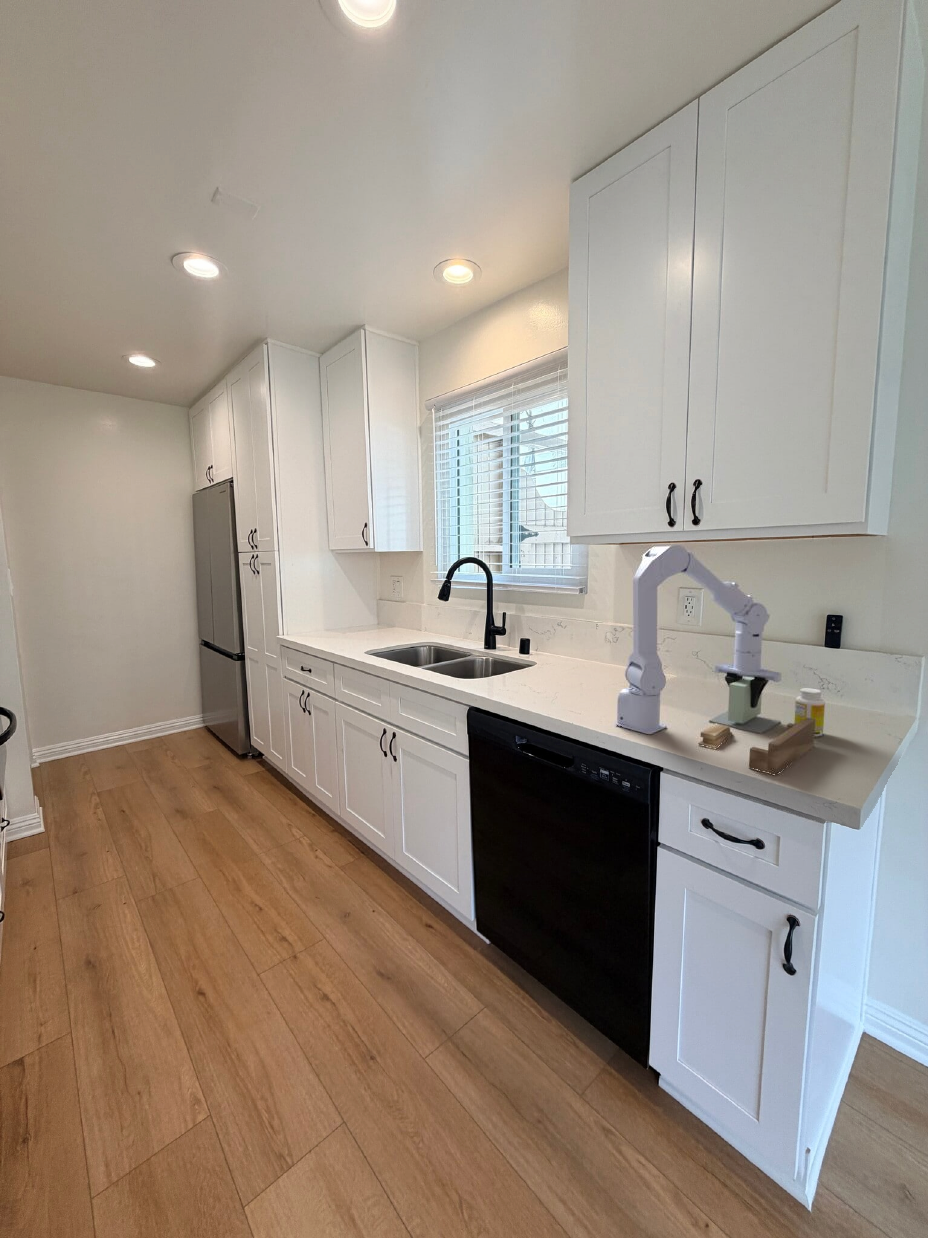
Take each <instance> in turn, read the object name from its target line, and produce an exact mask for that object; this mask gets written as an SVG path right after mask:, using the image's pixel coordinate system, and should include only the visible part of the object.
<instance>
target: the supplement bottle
mask: <svg viewBox="0 0 928 1238" xmlns="http://www.w3.org/2000/svg"><path fill="white" fill-rule="evenodd" d="M799 691H800V692H799V696H797V697H796V698H795V705H794V722H793V724H798V723H799V722H801V721H802V720H804V719H805V718H812V719H815V734H814V738H816V737H817V738H818V737H821V736H823V734H824V726H825V725H824V723H825V709H826V708H825V706H826V705H825V704H826V702H825V700H824V699H823V698H822V691H821V690H820V689H815V688H810V687H809V688H808V687H803V688H800V689H799Z"/></svg>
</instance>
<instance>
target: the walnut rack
mask: <svg viewBox="0 0 928 1238" xmlns="http://www.w3.org/2000/svg"><path fill="white" fill-rule="evenodd" d="M814 734H815V719H812V718H805V719H804V720H802V721H801V722H799V723H798V724H794V723H791V722H789V723H787V724H786V731H785V732H783V733H781V734H780V735H779V736H776V738H774V739H773V740H771V741H769V742H768V744H767V745H768V748H767V749H764V748H760V747H756V746H752V747H751V748H749V759H748V761H749V762H748V768H749V767H750V768H754V769H758V770H760V771H765V772H769V773H771V774H775V775H777V774H778V773H779V772H781V771H782V770H783V769H785V768H786V767H787V766H788V767H789V765H790V764H791V763H792V764H793V763H795V762H796V761H797V760H798V759H800V758H801V757H802V756H803V755H805V754H806V753H808V752H809V750H811V749H812V748H813V747H814V746H815V737H814ZM792 764H791V765H792ZM791 765H790V766H791ZM788 767H787V768H788ZM787 768H786V769H787ZM786 769H785V770H786ZM760 771H759V772H760ZM783 771H784V770H783ZM783 771H782V772H783ZM782 772H781V773H782ZM778 775H779V774H778ZM778 775H777V776H778Z"/></svg>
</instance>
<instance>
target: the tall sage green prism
mask: <svg viewBox="0 0 928 1238" xmlns="http://www.w3.org/2000/svg"><path fill="white" fill-rule="evenodd" d="M752 679H754V678H753V677H746V676H744V677H743V678H742V679H741V680H738V681H736V682H733V683H731V684H729V686H728V708H727V709H728V710H727V711H728V720H729V721H733V722H738V723H742V724H743V723H745V722H747V721H748V720H750V719H752V718H754V717H756V716H760V714H762V713H761V712H762V699H763V698H762V694H763V692H762V693H761V695H760V698H759V700H758V704H757V707H755V708H751V685H750V680H752Z"/></svg>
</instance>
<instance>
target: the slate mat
mask: <svg viewBox="0 0 928 1238" xmlns="http://www.w3.org/2000/svg"><path fill="white" fill-rule="evenodd" d="M708 722H709V723H711V722H712V723H713V724H715V723H717V724H721V725H726V726H730V727H729V728H734V729H737V730H743V731H746V732H750V733H755V734H760V735H762V734H764V733H766V732H767V731H770V730H771V729H772V728H774V727H776V726H777V725H779V724H780V723H781V720H778V719H773V718H769V717H763V716H760V715H757V716H756V717H754V718H752V719H750V720H748V721H747V722H745V723H743V724H742V723H738V722H733V721H729V720H728V710H726V712H723V713H721V714H719V715H717V716H715V717H713V718H711V719H709V720H708Z"/></svg>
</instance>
